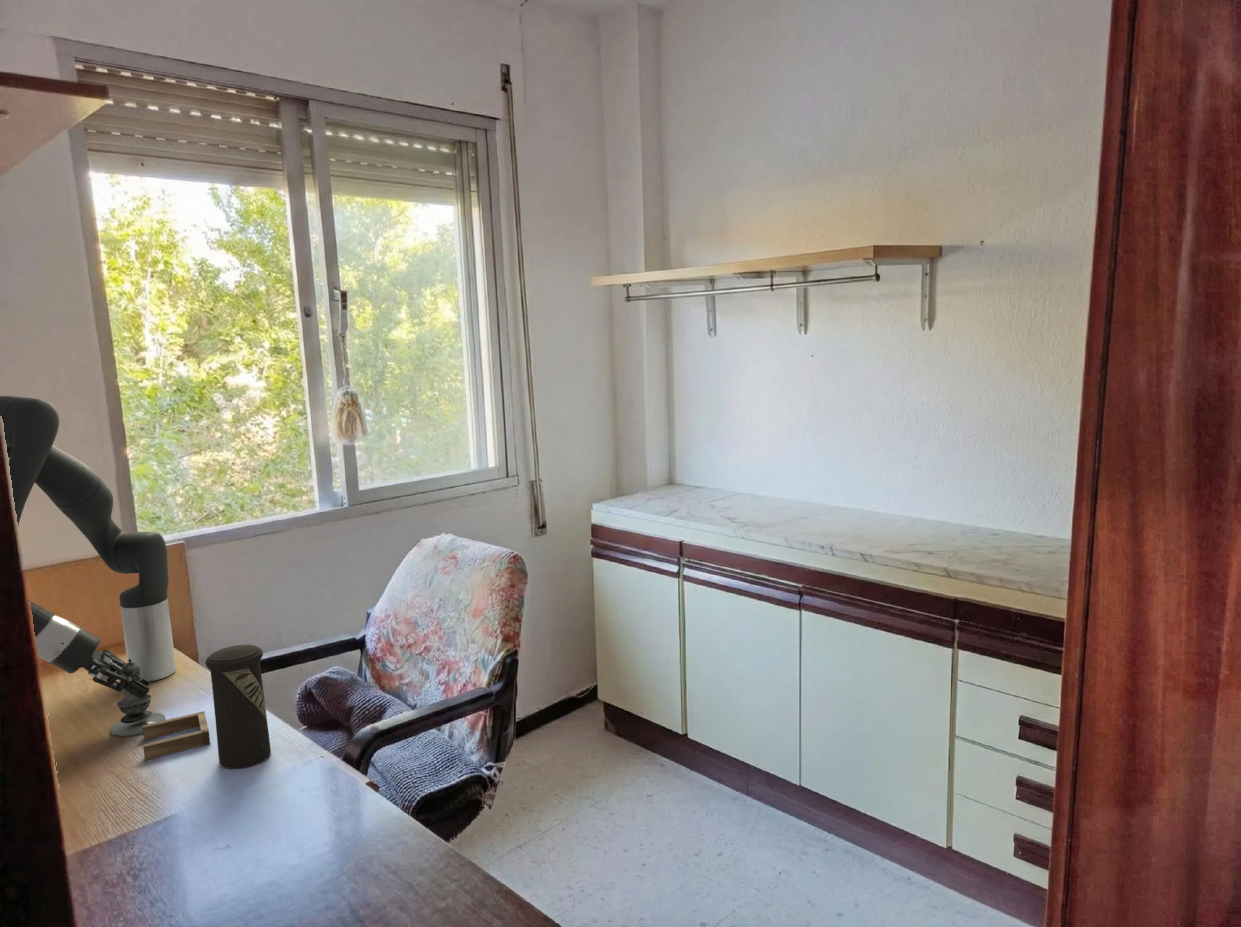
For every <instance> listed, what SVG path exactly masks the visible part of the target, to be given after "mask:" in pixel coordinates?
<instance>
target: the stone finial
mask: <svg viewBox="0 0 1241 927" xmlns="http://www.w3.org/2000/svg"><path fill="white" fill-rule="evenodd" d="M128 661H129V662H128V663H127V662H126V663H127V664H125V665H124V666H123V667H122V668H123V670H124V671H123V672H124V673H125V674H127V675H128V676H131V677H132V678H133V679H135V680H136V681H138V682H140V683H142V680H143V678H141V677H140V668H139V664H138V663H136V662H131V661H132V660H131V659H130V658H129V659H128ZM123 692H124V694H123V698H121V699H119V700H118V701H117V702H116V706H117V707H118V708H119V711H120V712H121V713H122V714H124V716H122V717H121V718H120V720H119V721H121V722H122V723H136V722H140V721H143V720H145V719H147V718H149V717H150V716H151V715H152V713H153V712H152V711H150V710H148V708H149V707H150V704H151V700H152V698H153V695H152V694H150V693H147V694H146V695H145V697H144V698H139V697H137V696H135V695H133V694H132V693H130V692H128V691H126V690H125V689H124V690H123Z"/></svg>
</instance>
